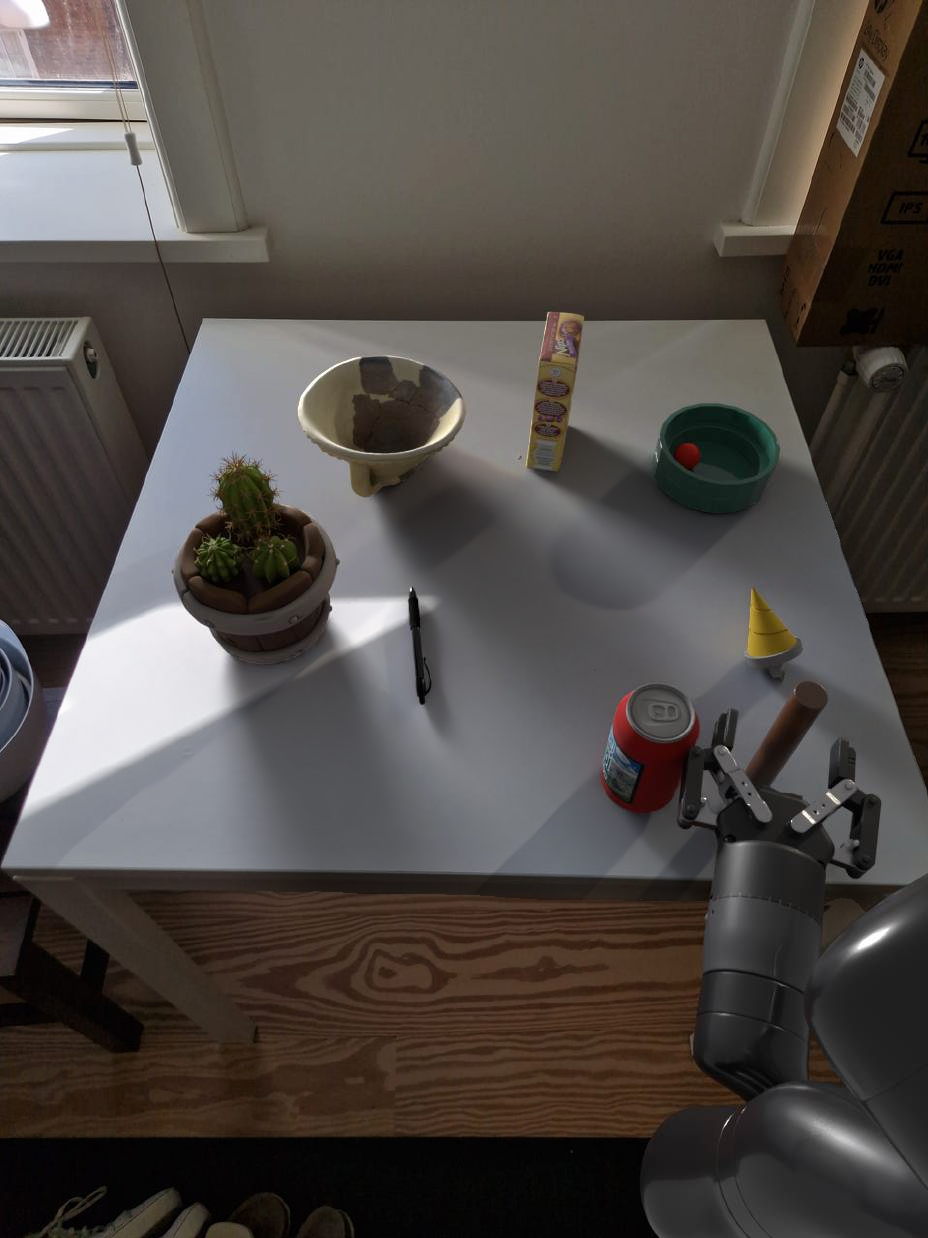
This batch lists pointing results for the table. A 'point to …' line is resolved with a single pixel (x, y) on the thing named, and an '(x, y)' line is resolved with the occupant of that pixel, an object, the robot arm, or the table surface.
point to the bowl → (381, 417)
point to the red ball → (687, 455)
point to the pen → (418, 647)
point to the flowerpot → (257, 570)
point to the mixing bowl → (716, 457)
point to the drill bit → (769, 639)
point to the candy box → (554, 390)
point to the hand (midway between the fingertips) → (784, 727)
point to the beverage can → (648, 747)
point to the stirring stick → (787, 732)
